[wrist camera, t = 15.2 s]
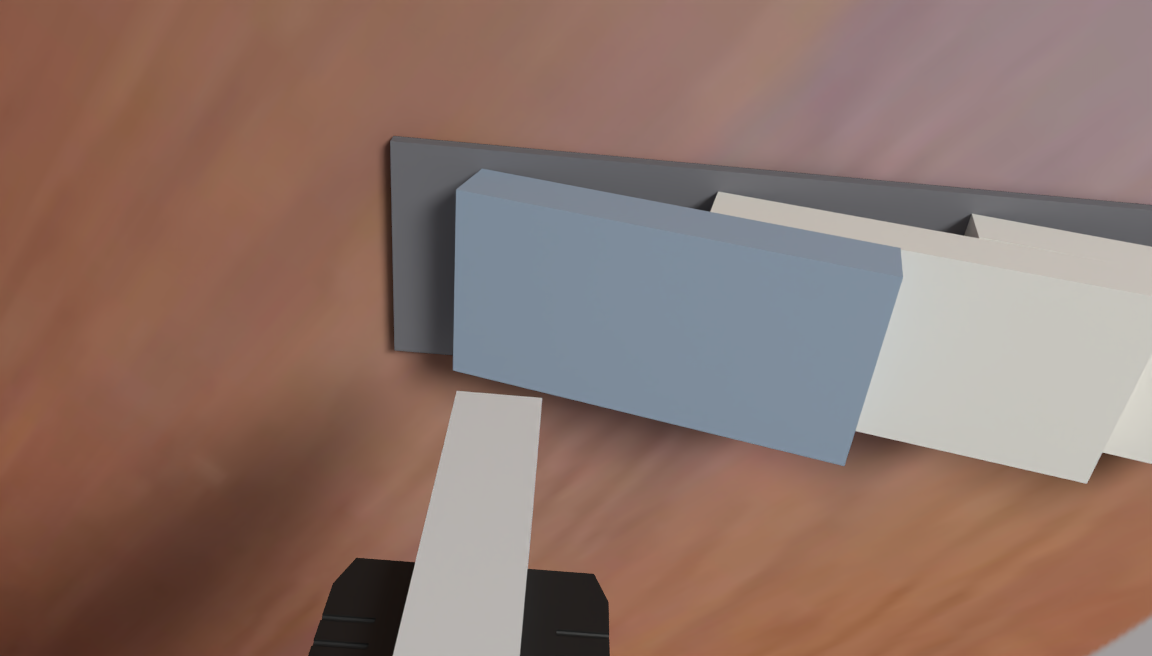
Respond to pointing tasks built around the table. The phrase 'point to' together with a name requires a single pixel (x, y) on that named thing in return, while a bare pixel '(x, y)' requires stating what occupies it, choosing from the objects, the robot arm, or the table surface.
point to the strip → (441, 167)
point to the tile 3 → (1148, 416)
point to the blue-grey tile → (670, 311)
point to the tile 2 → (995, 343)
